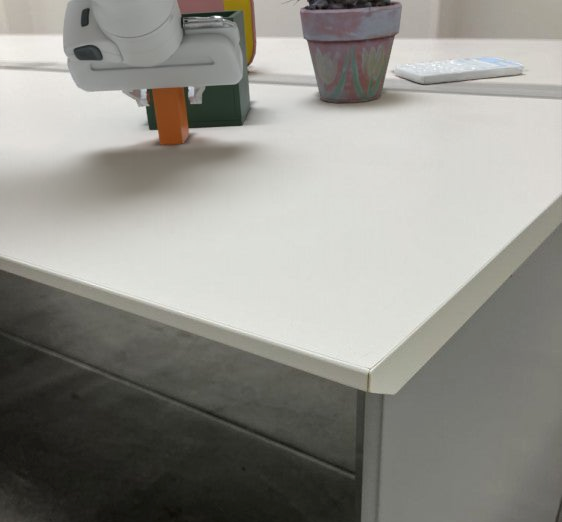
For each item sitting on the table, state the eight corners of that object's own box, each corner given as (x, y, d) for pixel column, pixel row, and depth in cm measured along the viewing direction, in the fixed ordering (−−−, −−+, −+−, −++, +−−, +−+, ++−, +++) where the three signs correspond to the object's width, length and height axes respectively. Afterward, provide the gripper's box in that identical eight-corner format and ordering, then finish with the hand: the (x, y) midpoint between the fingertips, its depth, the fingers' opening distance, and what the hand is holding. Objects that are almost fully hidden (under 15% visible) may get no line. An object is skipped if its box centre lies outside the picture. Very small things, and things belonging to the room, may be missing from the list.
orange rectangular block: (160, 150, 88) (148, 65, 82) (168, 141, 92) (156, 60, 87) (183, 149, 87) (172, 64, 82) (190, 140, 92) (180, 58, 86)
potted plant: (295, 89, 121) (288, -79, 108) (407, 86, 117) (413, -89, 104) (275, 110, 106) (264, -83, 93) (403, 106, 102) (410, -94, 89)
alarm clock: (261, 71, 142) (254, -37, 132) (224, 79, 135) (214, -34, 125) (200, 67, 153) (189, -34, 143) (163, 74, 146) (149, -31, 136)
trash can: (149, 129, 99) (132, 23, 92) (167, 111, 110) (153, 15, 103) (242, 125, 98) (233, 17, 91) (250, 107, 109) (243, 9, 102)
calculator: (392, 75, 128) (392, 64, 127) (489, 65, 132) (490, 54, 131) (421, 85, 117) (421, 73, 116) (526, 74, 121) (527, 62, 120)
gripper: (236, -9, 74) (251, 75, 87) (53, 2, 75) (95, 83, 89) (235, 41, 73) (251, 118, 86) (48, 52, 74) (92, 126, 87)
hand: (170, 100), depth 87 cm, fingers open, 5 cm apart
